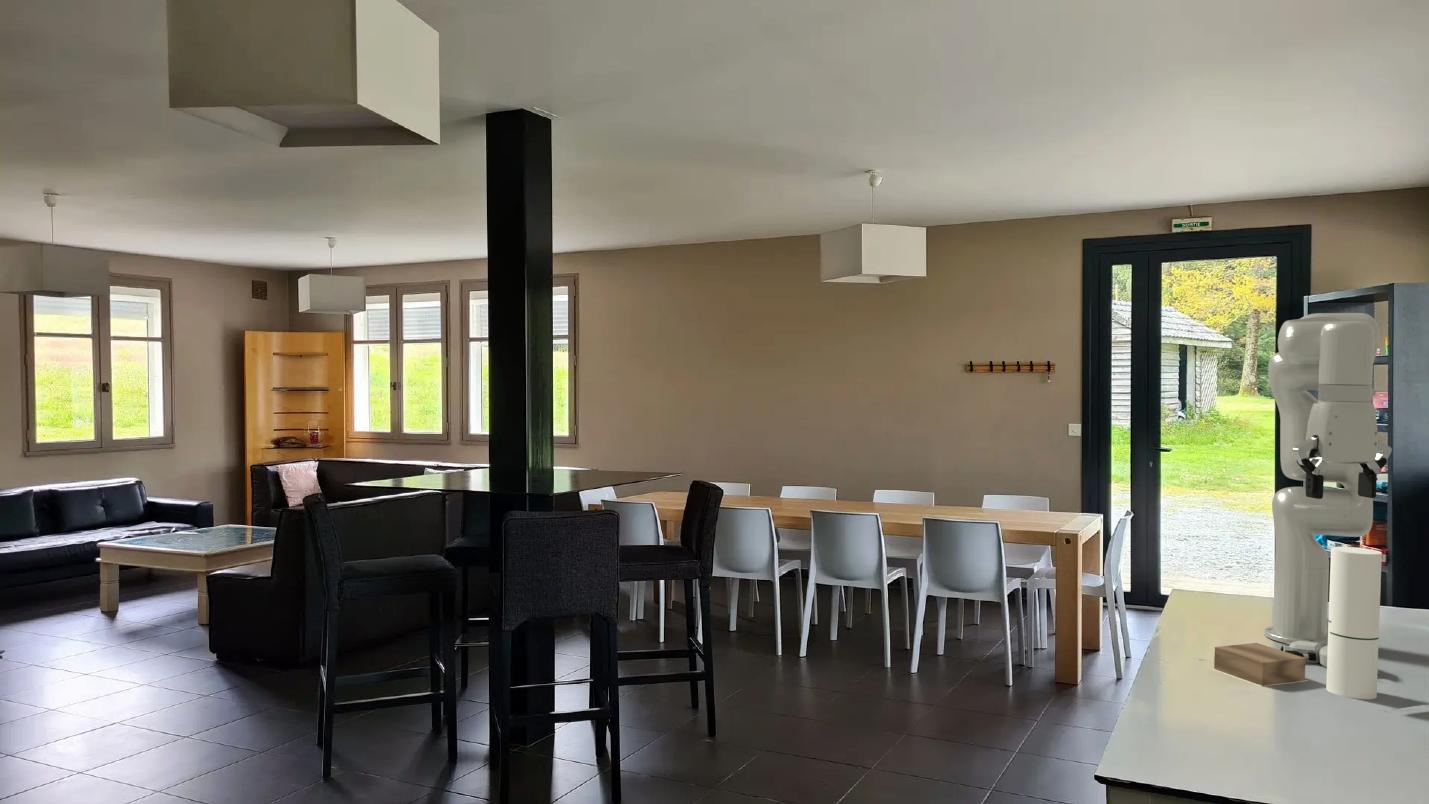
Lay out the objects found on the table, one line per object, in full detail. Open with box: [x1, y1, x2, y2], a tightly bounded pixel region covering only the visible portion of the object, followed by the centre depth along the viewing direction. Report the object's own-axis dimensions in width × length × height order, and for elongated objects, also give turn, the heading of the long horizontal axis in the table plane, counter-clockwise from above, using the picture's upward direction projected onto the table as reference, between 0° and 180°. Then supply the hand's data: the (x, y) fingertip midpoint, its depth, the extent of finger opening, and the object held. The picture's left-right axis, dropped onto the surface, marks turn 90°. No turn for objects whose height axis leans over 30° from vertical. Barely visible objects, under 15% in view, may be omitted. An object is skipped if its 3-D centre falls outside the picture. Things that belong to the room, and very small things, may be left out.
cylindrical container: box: [1325, 546, 1383, 700], centre depth 164 cm, size 7×7×25 cm
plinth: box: [1213, 642, 1306, 687], centre depth 173 cm, size 10×10×4 cm
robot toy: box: [1280, 641, 1328, 669], centre depth 181 cm, size 12×4×15 cm
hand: (1340, 497), depth 163 cm, fingers open, 9 cm apart
